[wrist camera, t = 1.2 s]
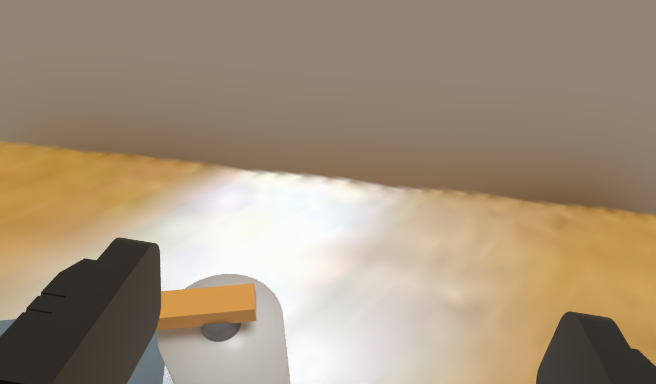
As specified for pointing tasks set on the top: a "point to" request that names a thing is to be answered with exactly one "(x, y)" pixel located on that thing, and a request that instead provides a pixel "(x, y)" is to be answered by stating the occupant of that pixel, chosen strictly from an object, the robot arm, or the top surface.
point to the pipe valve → (223, 333)
